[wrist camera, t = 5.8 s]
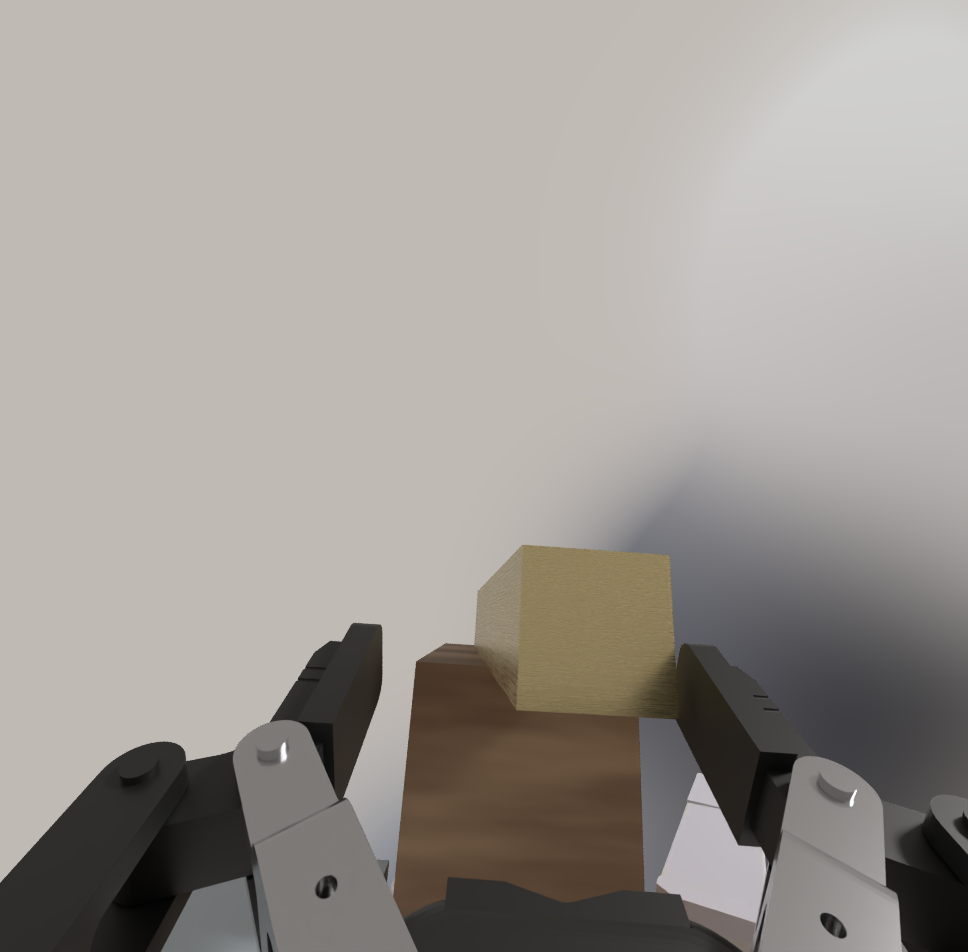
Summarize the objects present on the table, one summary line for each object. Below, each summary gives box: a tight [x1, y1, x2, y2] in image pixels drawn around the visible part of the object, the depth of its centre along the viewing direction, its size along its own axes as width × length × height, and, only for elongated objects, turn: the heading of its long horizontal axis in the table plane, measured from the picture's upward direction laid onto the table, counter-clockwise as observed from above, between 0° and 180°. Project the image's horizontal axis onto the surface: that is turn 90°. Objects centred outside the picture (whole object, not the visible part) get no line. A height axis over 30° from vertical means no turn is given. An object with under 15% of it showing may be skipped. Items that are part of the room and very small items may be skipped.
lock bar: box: [474, 545, 679, 719], centre depth 23 cm, size 24×4×4 cm, turn 4°
